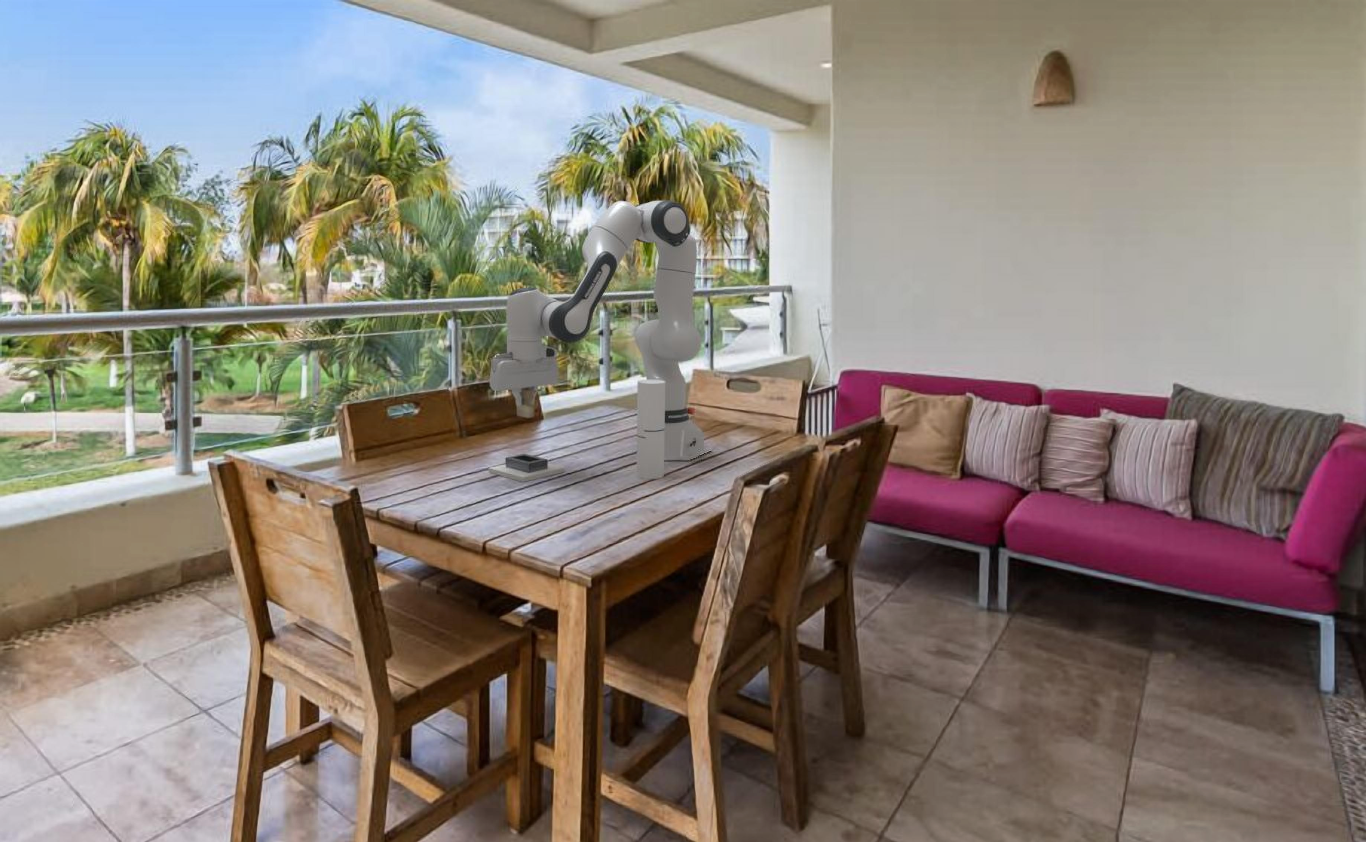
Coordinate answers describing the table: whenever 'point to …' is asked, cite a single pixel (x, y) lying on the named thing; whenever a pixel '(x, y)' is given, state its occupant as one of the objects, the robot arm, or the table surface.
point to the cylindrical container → (650, 428)
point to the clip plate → (525, 476)
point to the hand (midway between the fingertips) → (525, 404)
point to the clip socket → (526, 463)
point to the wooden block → (526, 404)
